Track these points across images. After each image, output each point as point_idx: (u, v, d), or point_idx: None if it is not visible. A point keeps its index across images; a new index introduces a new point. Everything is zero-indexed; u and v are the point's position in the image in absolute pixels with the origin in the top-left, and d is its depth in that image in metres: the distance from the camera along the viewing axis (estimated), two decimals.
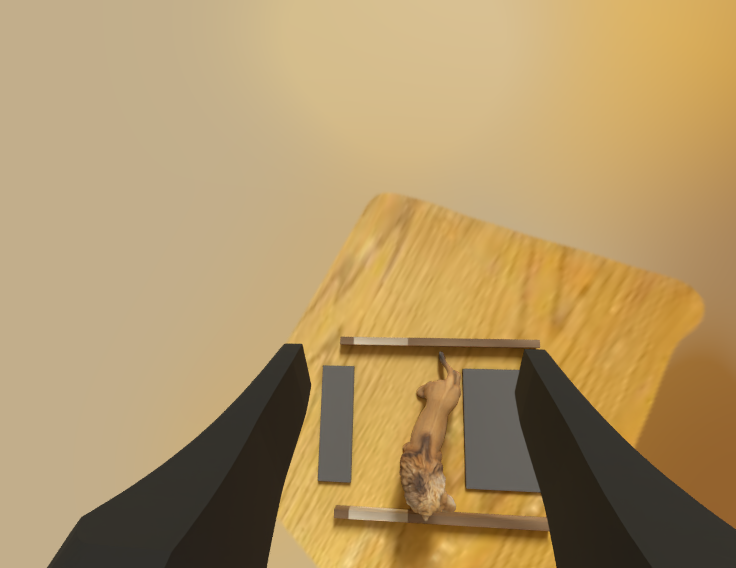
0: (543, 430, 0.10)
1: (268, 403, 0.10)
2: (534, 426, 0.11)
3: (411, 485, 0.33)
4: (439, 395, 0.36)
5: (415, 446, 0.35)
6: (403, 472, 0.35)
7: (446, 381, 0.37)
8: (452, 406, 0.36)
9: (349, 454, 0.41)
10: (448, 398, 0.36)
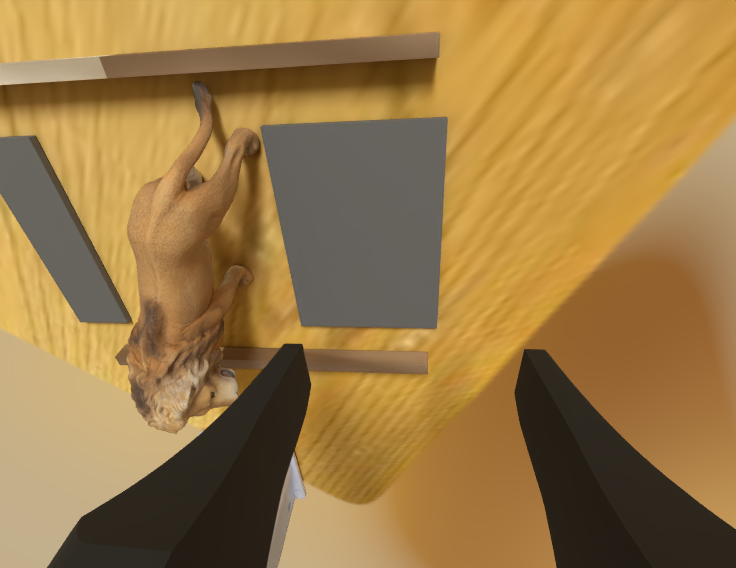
0: (543, 430, 0.10)
1: (268, 403, 0.10)
2: (534, 426, 0.11)
3: (132, 395, 0.18)
4: (140, 232, 0.14)
5: (140, 320, 0.18)
6: None
7: (154, 193, 0.14)
8: (183, 250, 0.15)
9: (107, 289, 0.24)
10: (162, 237, 0.14)
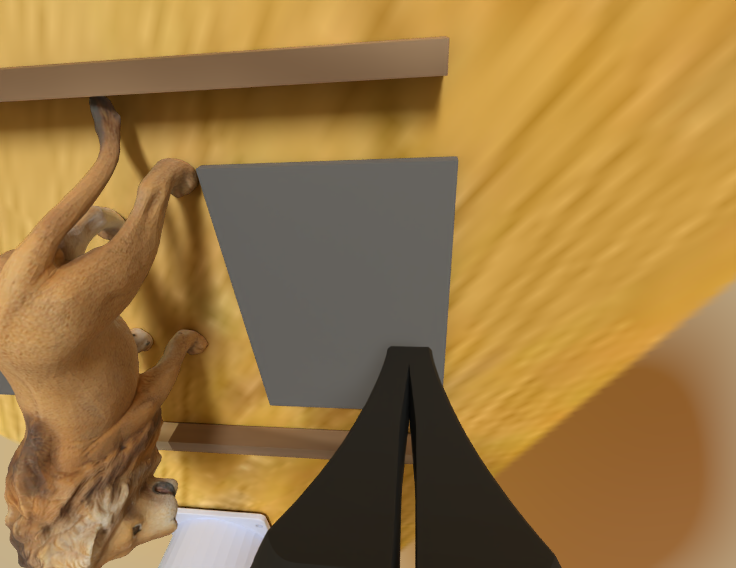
0: (412, 424, 0.11)
1: (401, 409, 0.10)
2: (411, 420, 0.11)
3: None
4: None
5: (25, 435, 0.12)
6: None
7: None
8: (58, 357, 0.10)
9: None
10: (16, 343, 0.09)
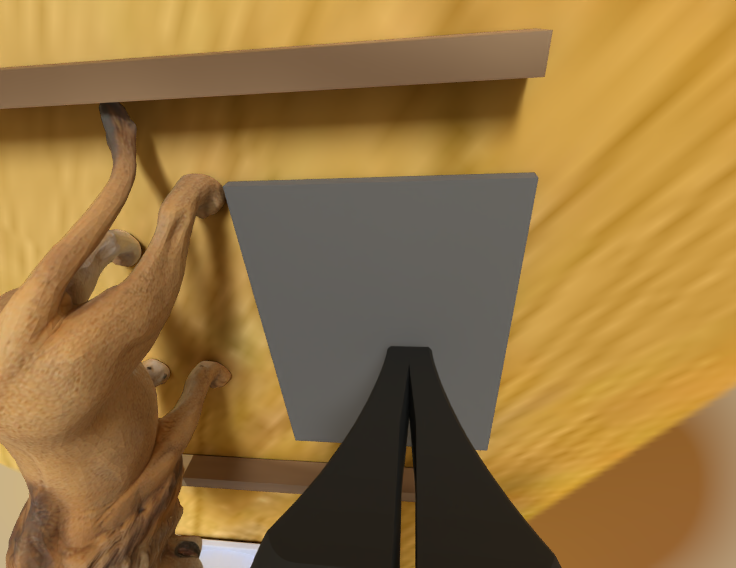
0: (412, 424, 0.11)
1: (401, 409, 0.10)
2: (411, 420, 0.11)
3: None
4: None
5: (28, 502, 0.10)
6: None
7: None
8: (66, 427, 0.08)
9: None
10: (13, 416, 0.07)
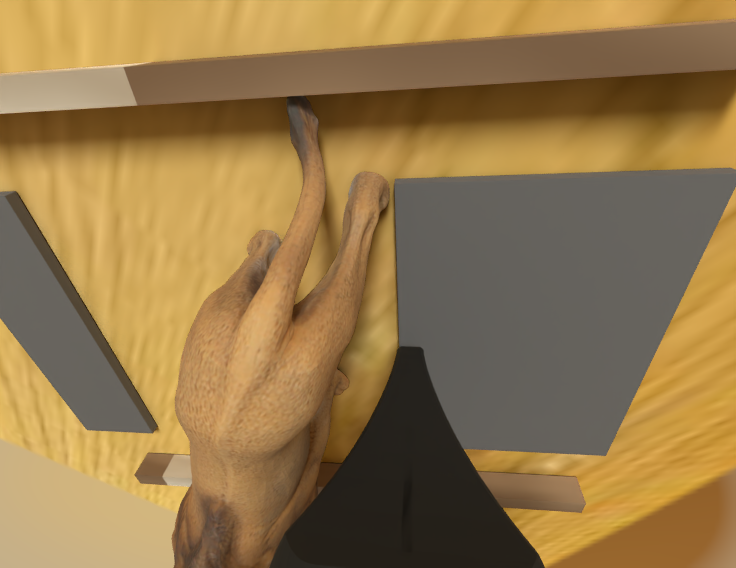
0: None
1: (414, 409, 0.10)
2: None
3: None
4: (203, 418, 0.07)
5: (193, 515, 0.10)
6: None
7: (235, 343, 0.06)
8: (286, 441, 0.07)
9: (125, 394, 0.17)
10: (249, 430, 0.07)
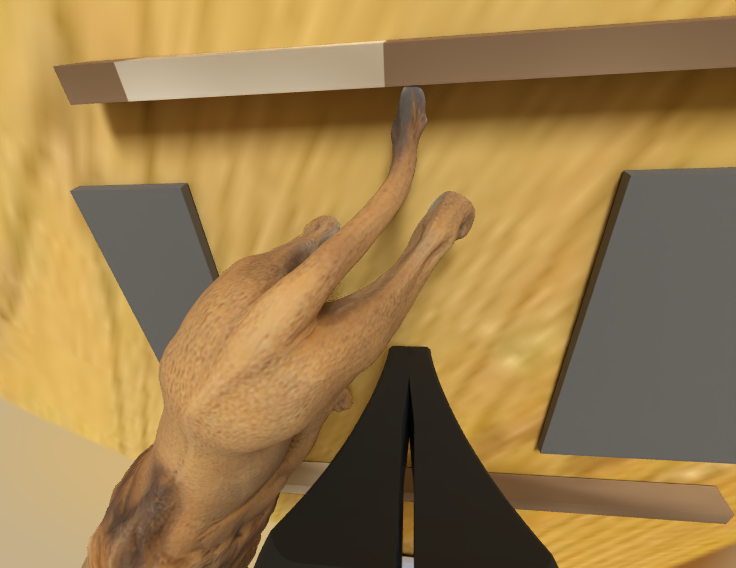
0: (411, 424, 0.11)
1: (404, 409, 0.10)
2: (409, 420, 0.11)
3: None
4: (181, 385, 0.06)
5: (141, 475, 0.09)
6: None
7: (245, 317, 0.05)
8: (258, 448, 0.06)
9: None
10: (223, 420, 0.06)
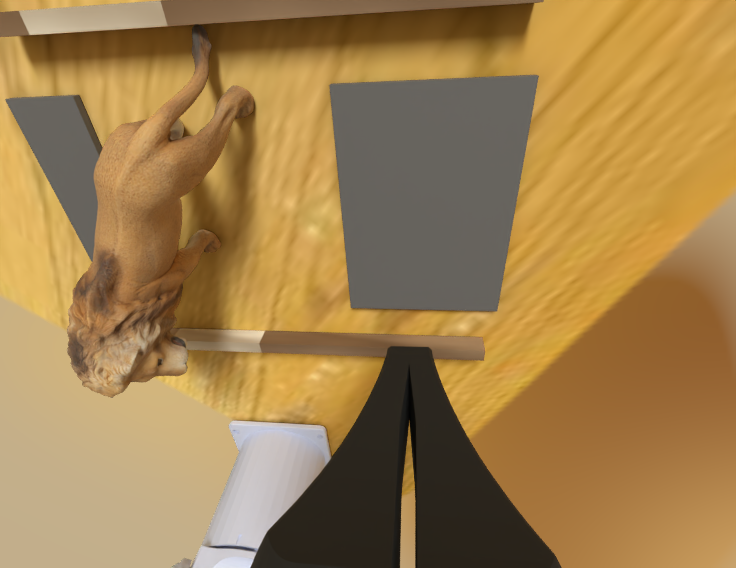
0: (412, 424, 0.11)
1: (401, 409, 0.10)
2: (411, 420, 0.11)
3: (69, 350, 0.16)
4: (109, 175, 0.13)
5: (91, 271, 0.16)
6: None
7: (133, 136, 0.13)
8: (154, 204, 0.14)
9: None
10: (134, 186, 0.13)
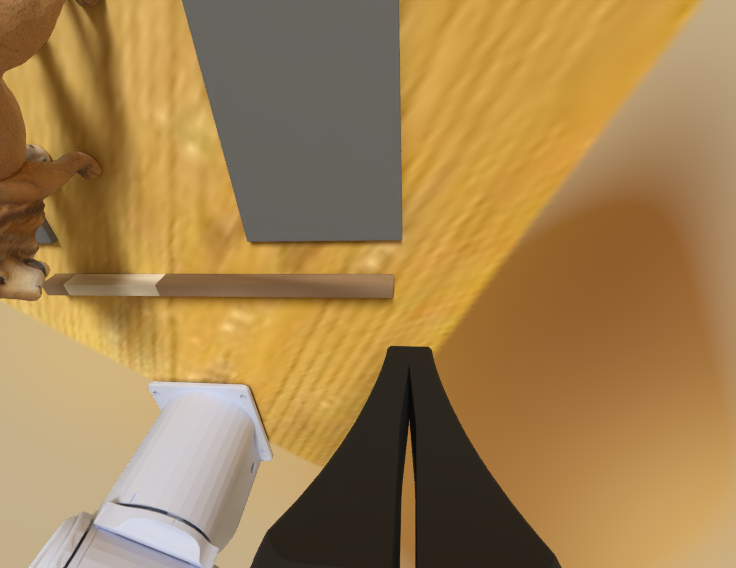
0: (412, 424, 0.11)
1: (401, 409, 0.10)
2: (411, 420, 0.11)
3: None
4: None
5: None
6: None
7: None
8: None
9: None
10: None
